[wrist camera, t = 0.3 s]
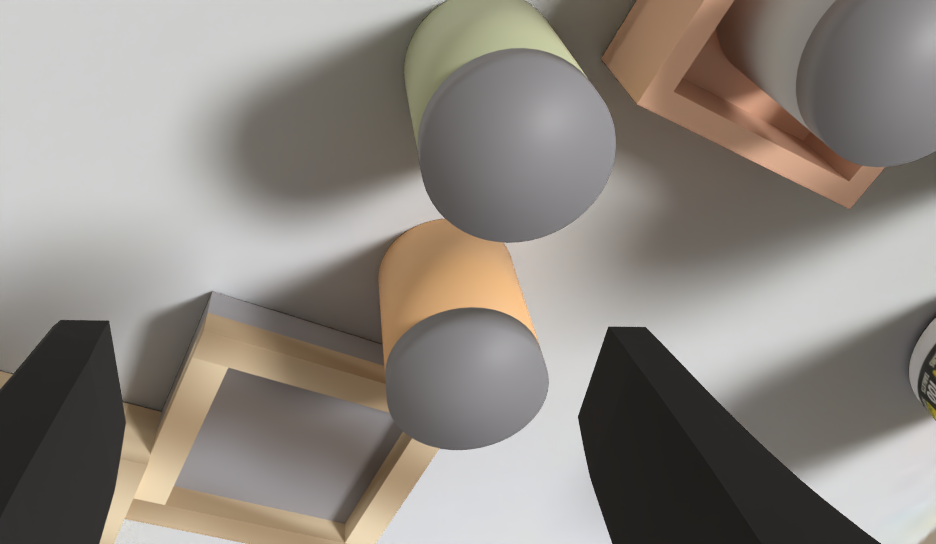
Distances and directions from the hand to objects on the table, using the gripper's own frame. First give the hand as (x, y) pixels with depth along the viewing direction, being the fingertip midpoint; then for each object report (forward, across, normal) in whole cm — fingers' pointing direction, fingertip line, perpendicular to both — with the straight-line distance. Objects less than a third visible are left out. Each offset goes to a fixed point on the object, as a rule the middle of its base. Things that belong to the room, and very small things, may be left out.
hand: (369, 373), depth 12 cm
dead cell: (+10, -11, -3) cm, 15 cm away
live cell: (+10, -3, +6) cm, 12 cm away
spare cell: (+10, -3, 0) cm, 11 cm away
